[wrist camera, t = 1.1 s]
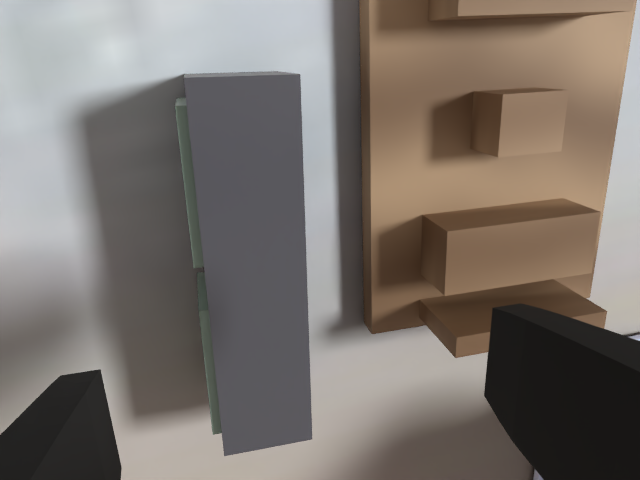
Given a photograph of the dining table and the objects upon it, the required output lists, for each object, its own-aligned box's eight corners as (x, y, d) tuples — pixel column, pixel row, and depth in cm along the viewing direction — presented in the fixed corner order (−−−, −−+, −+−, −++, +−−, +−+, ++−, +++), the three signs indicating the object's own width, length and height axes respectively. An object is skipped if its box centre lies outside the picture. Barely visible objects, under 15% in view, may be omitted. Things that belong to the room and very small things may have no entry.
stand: (573, 287, 23) (646, 331, 19) (363, 321, 21) (401, 377, 17) (634, -133, 17) (753, -184, 14) (357, -143, 15) (410, -208, 12)
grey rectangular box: (290, 373, 21) (312, 438, 17) (210, 386, 20) (215, 457, 17) (276, 71, 17) (299, 73, 13) (175, 74, 16) (171, 78, 13)
